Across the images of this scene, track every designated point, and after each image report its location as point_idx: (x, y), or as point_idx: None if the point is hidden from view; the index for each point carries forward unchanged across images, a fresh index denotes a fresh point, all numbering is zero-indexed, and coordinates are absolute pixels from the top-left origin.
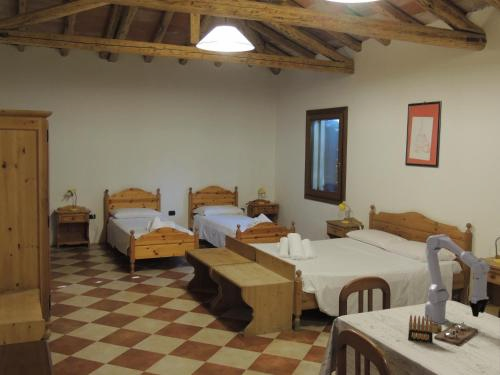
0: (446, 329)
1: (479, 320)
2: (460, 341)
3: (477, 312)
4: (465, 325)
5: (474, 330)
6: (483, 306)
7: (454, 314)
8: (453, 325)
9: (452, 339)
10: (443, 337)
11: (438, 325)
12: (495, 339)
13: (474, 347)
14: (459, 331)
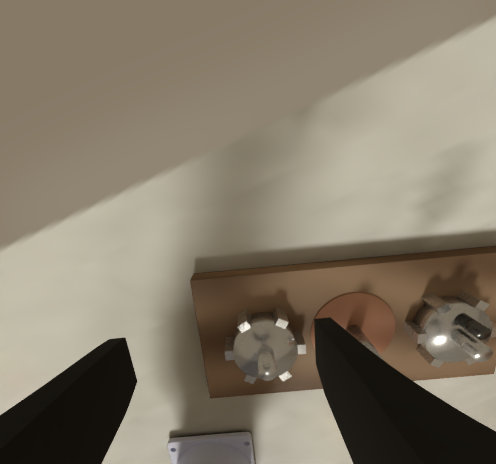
0: None
1: (13, 346)
2: (482, 253)
3: (371, 367)
4: (246, 344)
5: (234, 283)
6: (49, 435)
7: None
8: (254, 388)
9: (479, 296)
10: None
11: None
12: (235, 140)
13: (469, 169)
14: None
